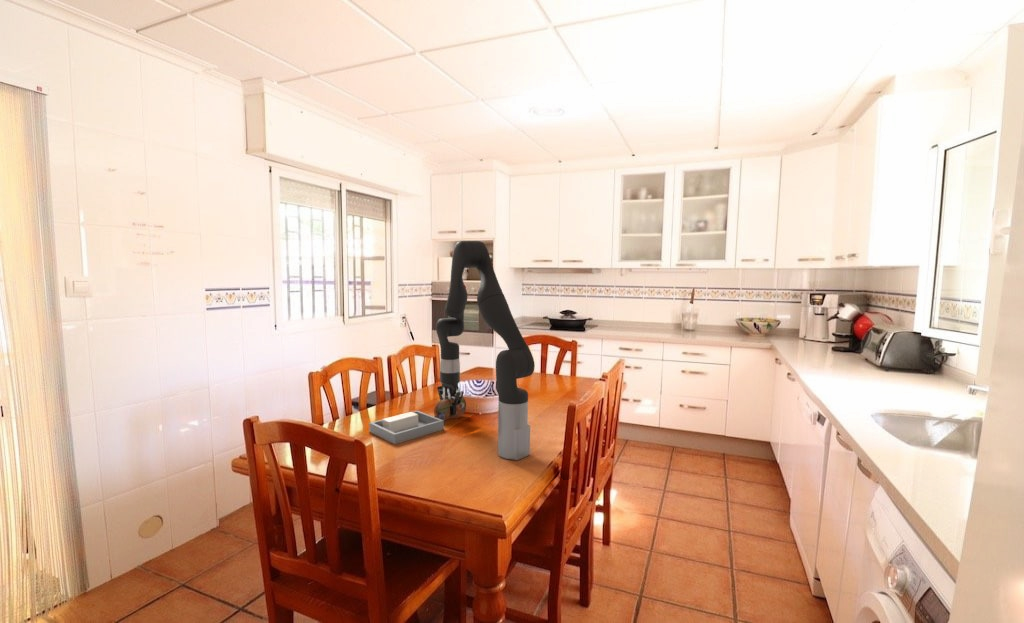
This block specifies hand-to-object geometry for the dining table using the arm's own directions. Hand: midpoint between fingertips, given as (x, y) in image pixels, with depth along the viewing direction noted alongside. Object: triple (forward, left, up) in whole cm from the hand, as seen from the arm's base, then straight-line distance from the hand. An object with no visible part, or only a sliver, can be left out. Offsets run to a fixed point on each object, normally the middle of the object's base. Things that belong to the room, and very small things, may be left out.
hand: (450, 413), depth 176 cm
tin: (0, 0, -2) cm, 2 cm away
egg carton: (+3, +20, -1) cm, 20 cm away
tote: (-1, +20, -2) cm, 20 cm away
